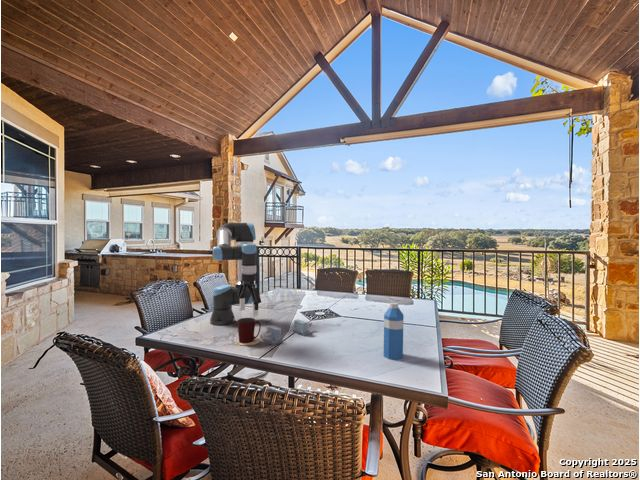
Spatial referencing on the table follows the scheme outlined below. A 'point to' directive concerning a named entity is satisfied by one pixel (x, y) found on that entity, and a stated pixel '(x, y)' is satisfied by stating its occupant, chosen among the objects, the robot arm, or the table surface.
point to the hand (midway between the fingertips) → (248, 313)
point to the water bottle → (393, 332)
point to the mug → (247, 329)
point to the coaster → (250, 342)
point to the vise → (275, 332)
